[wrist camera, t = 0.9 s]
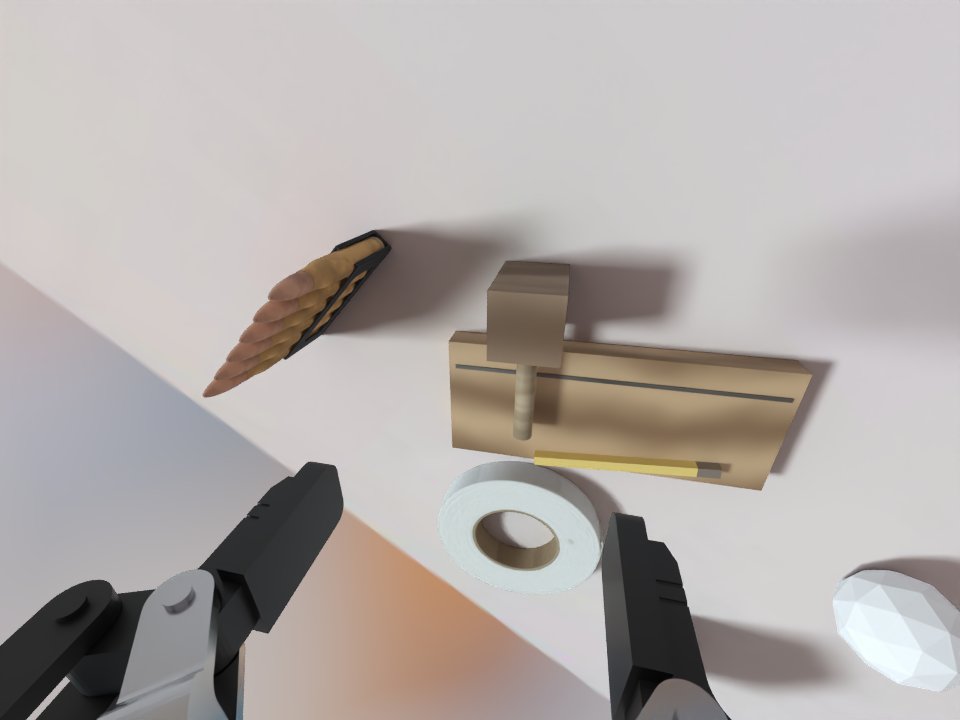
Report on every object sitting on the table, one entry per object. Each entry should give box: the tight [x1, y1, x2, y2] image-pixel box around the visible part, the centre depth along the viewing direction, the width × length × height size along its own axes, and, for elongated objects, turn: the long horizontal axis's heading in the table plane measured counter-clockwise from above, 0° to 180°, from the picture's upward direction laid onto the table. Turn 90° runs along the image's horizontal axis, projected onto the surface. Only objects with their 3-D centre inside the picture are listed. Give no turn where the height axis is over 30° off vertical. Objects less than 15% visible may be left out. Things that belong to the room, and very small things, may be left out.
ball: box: [832, 570, 960, 692], centre depth 31 cm, size 8×8×8 cm
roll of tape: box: [437, 461, 603, 594], centre depth 39 cm, size 16×15×3 cm
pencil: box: [534, 451, 722, 479], centre depth 31 cm, size 1×14×1 cm, turn 94°
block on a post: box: [487, 261, 570, 441], centre depth 28 cm, size 12×4×7 cm, turn 0°
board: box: [449, 331, 812, 490], centre depth 31 cm, size 10×24×2 cm, turn 90°
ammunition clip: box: [203, 230, 391, 397], centre depth 27 cm, size 11×2×12 cm, turn 136°
